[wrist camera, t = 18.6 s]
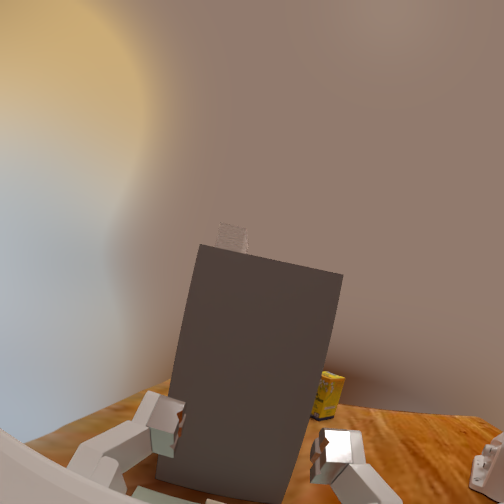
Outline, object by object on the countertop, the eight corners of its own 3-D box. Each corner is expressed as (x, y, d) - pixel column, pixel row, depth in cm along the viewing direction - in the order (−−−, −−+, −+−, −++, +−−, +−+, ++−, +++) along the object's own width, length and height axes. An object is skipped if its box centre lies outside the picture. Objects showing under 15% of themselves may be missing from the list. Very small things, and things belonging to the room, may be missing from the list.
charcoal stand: (280, 504, 30) (343, 274, 34) (155, 478, 31) (199, 244, 35) (274, 452, 46) (316, 281, 50) (181, 432, 46) (217, 260, 50)
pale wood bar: (240, 253, 35) (246, 227, 36) (214, 248, 35) (220, 222, 36) (244, 264, 47) (248, 244, 48) (224, 260, 47) (228, 240, 48)
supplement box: (300, 412, 69) (311, 371, 71) (316, 410, 73) (327, 371, 74) (318, 421, 64) (330, 378, 66) (334, 418, 68) (345, 377, 69)
